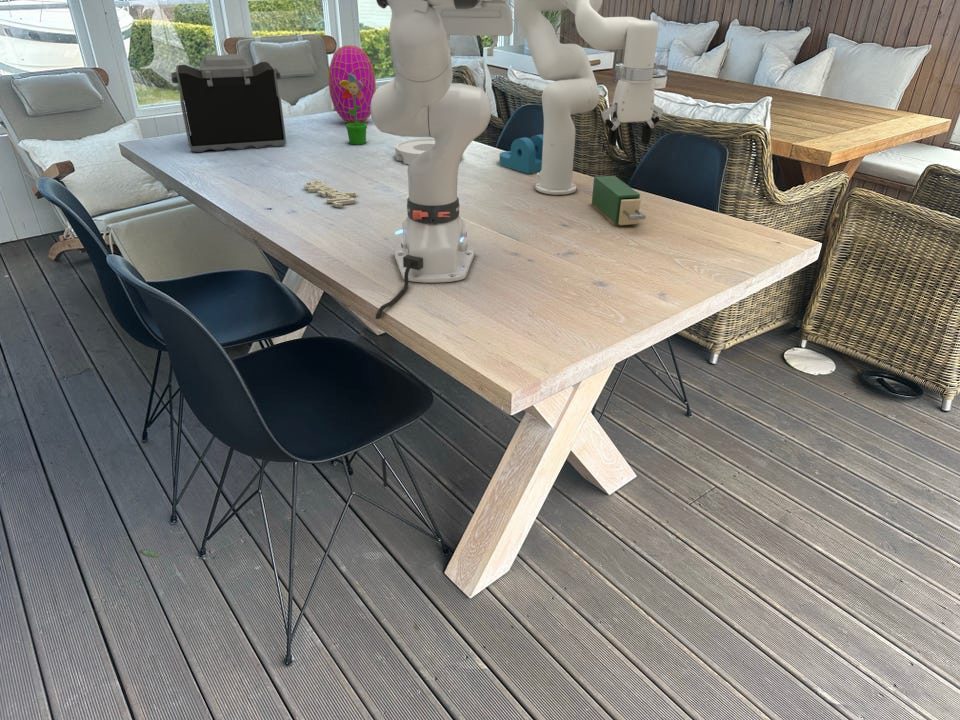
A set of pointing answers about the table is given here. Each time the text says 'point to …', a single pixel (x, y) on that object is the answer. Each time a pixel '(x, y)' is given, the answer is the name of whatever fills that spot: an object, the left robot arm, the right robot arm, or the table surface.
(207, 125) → the electronic device
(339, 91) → the decorative egg
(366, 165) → the table surface
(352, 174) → the table surface
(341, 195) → the decorative sign
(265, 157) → the table surface
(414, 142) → the ashtray
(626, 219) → the drawer
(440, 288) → the table surface
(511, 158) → the camera mount
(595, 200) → the cabinet
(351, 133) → the potted flower
